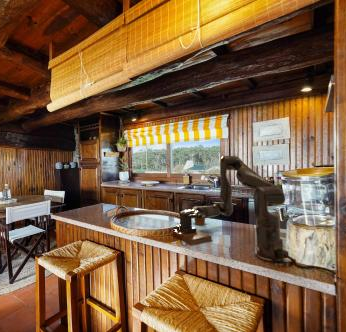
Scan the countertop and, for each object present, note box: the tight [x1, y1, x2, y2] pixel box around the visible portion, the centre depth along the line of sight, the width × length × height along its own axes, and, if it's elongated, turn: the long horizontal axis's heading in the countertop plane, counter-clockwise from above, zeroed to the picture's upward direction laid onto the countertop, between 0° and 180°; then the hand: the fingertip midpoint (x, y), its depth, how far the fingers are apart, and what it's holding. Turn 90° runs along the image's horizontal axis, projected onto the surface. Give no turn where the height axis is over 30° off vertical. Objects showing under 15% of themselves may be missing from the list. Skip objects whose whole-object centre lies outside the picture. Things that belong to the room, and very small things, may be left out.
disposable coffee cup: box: [192, 205, 206, 226], centre depth 152 cm, size 10×10×12 cm
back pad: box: [179, 212, 193, 232], centre depth 131 cm, size 4×6×11 cm, turn 111°
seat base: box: [172, 224, 212, 246], centre depth 126 cm, size 18×14×6 cm
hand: (183, 215), depth 130 cm, fingers open, 8 cm apart
